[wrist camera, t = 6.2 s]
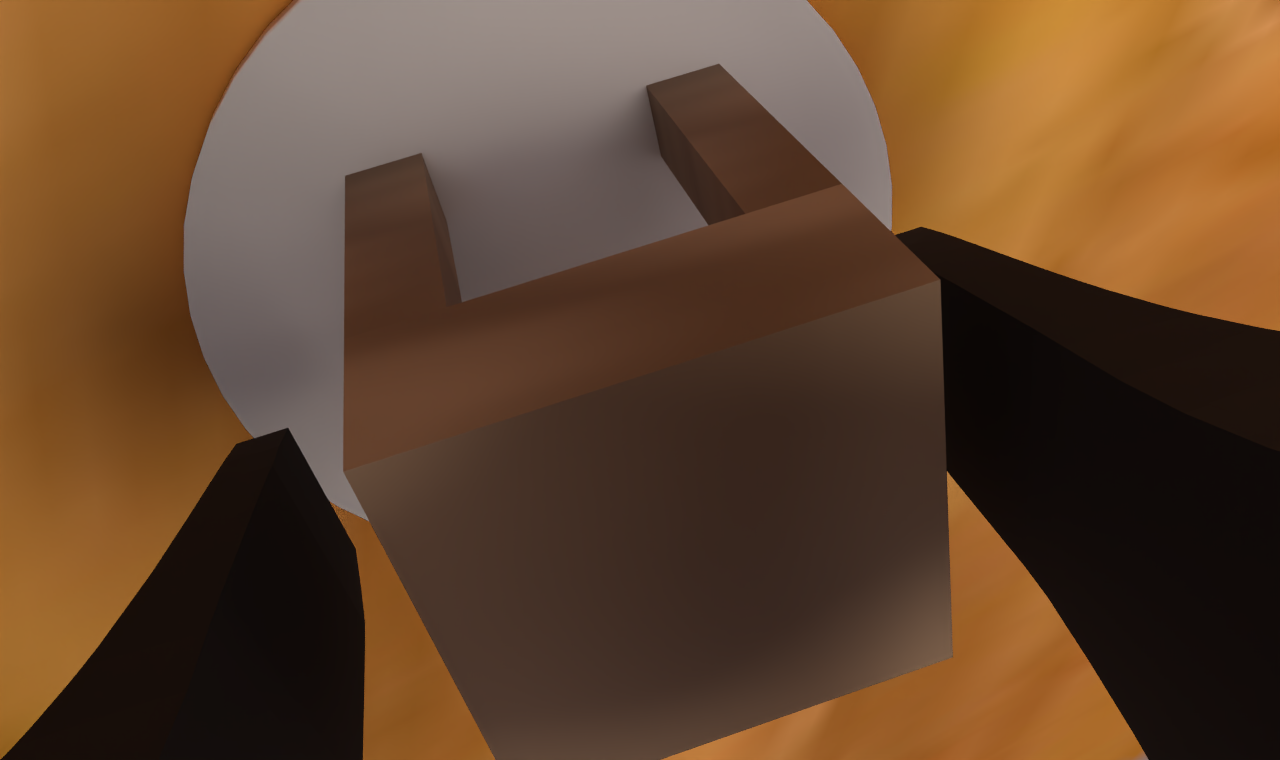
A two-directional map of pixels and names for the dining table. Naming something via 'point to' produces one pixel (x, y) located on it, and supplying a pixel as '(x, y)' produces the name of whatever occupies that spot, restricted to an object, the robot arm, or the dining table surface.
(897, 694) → the dining table surface
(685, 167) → the stool
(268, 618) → the robot arm
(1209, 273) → the dining table surface
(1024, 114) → the dining table surface
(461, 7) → the plate
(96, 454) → the dining table surface
